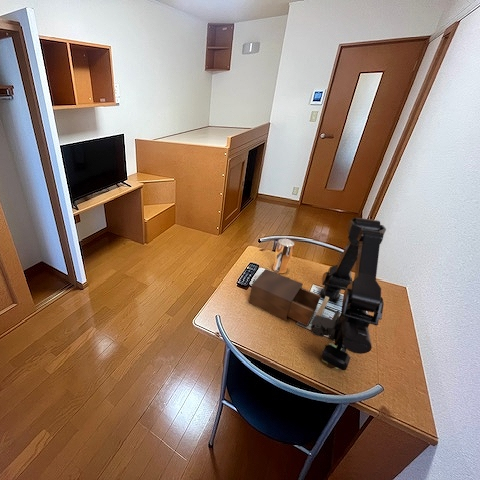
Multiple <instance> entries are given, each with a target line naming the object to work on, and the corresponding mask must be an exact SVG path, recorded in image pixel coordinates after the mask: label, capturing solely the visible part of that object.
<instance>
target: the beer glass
mask: <svg viewBox="0 0 480 480" xmlns="http://www.w3.org/2000/svg"><path fill="white" fill-rule="evenodd" d="M295 243H296V242H294V241H293V240H291V239H288V238H280V239H278V242H277V244H276V247H275V254H274V255H275V256H274V257H275V259H274V264H273V266H272V270H273V272H275V273H277V274H286V273H287V272H288V264H289V262H290V260H291V258H292V256H293V253H294V249H295Z"/></svg>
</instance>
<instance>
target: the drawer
mask: <svg viewBox="0 0 480 480" xmlns="http://www.w3.org/2000/svg"><path fill="white" fill-rule="evenodd" d="M320 300H321V296H320V295H319V294H318V293H315V292H313V291H310V290H308V289H306V288H303V287H302V288H300V290H299V292H298V293H297V295H296V296H295V298H294V299H293V301H292V302H291V306H290V309H289V312H288V315H287V316H288V317H287V318H290V319H292V320H293V321H296V322H298V323H300V324H301V325H304V326H306V327H307V326H309V324H310V322H311V321H312V318H313V316H314V314H315V312H316V310H317V308H318V305H319V302H320ZM322 300H323V301H321V304H320V306H319V308H318V310H317V312H316V314H315V316H321V317H323V314H324V312H325V310H327V311H329V312H332V313H334V314H333V316H332V319H333V320H336V319H337V317H338V316H340V314H341V311H340V310H335V309H333V308H330V307H327V305H328V302H329V301H328V300H329V297H327V296H325V298H324V299H322Z"/></svg>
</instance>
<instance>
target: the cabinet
mask: <svg viewBox="0 0 480 480" xmlns="http://www.w3.org/2000/svg"><path fill="white" fill-rule="evenodd" d="M303 285H304V283H302V282H300V281H297V280H295V279H292V278H289V277H287V276H285V275H283V274H281V273H277V272H275V271H272V270H270V269H267V268H265V269H264V270H263V271H262V272H261V273H260V274H259V275H258V277H257V278H256V279H255V280H254V281H253V282H252V284H251V287H250V293H249V297H248V304H251V305H252V306H255V307H256V308H259V309H261V310H263V311H264V312H267V313H269V314H271V315H273V316H275V317H277V318H279V319H280V320H283V321H287V320H288V318H289V317H288V316H287V315H288V312H289V309H290V306H291V302H292V301H293V299H294V298H295V296H296V295H297V293H298V292H299V290H300V288H303Z"/></svg>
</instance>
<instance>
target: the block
mask: <svg viewBox="0 0 480 480" xmlns="http://www.w3.org/2000/svg"><path fill="white" fill-rule="evenodd" d="M328 345H331V346H333V347H335V348H337V346H336V345H335V343H332V342H329V344H328ZM341 350H342V348H341ZM321 362H323V363H325V364H327V362H326V361H324V360H322V359H321ZM335 369H336V370H340V369H339V368H337V367H336V368H335Z"/></svg>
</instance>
